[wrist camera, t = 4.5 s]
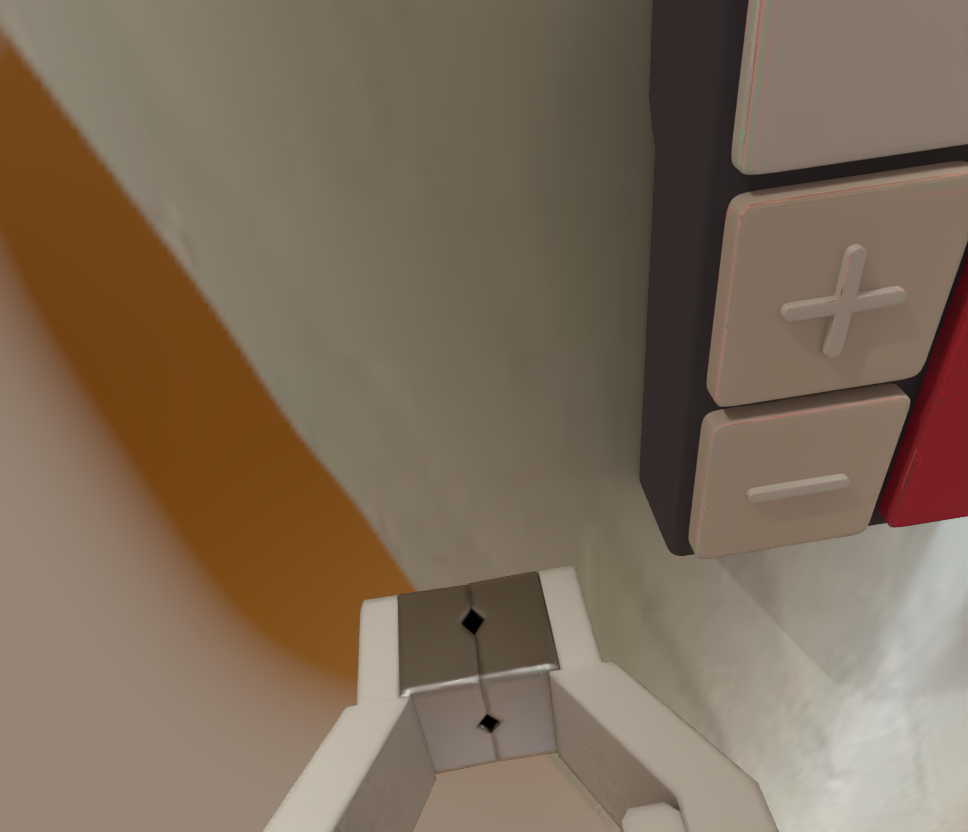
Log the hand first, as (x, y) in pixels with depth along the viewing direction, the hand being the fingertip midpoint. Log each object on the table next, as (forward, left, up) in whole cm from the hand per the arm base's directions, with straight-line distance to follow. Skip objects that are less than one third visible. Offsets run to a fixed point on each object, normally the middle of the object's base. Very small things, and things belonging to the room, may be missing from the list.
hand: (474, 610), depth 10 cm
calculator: (0, +11, -10) cm, 14 cm away
